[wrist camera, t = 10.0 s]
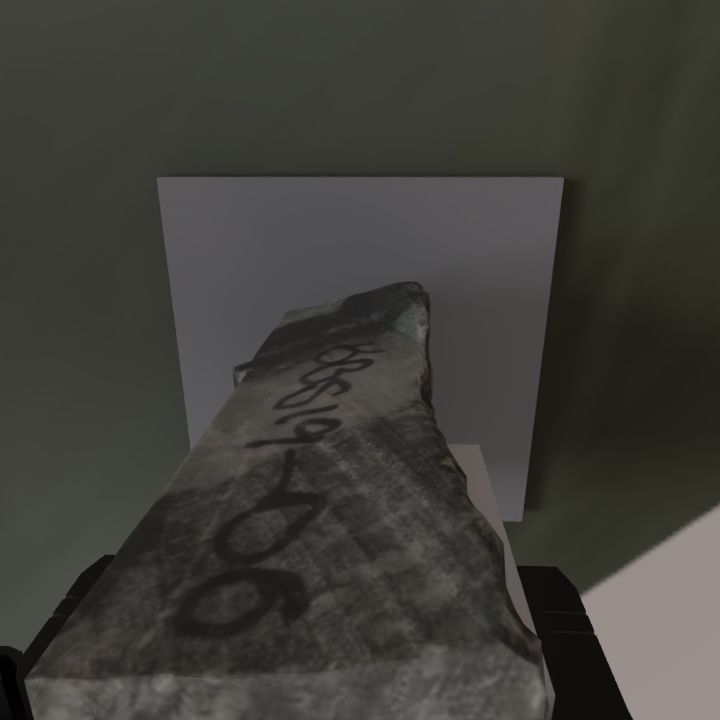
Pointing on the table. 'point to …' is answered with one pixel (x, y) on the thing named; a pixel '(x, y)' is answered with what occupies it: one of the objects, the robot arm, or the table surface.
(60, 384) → the table surface
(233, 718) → the stone block
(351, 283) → the slate pad
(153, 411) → the table surface
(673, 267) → the table surface
